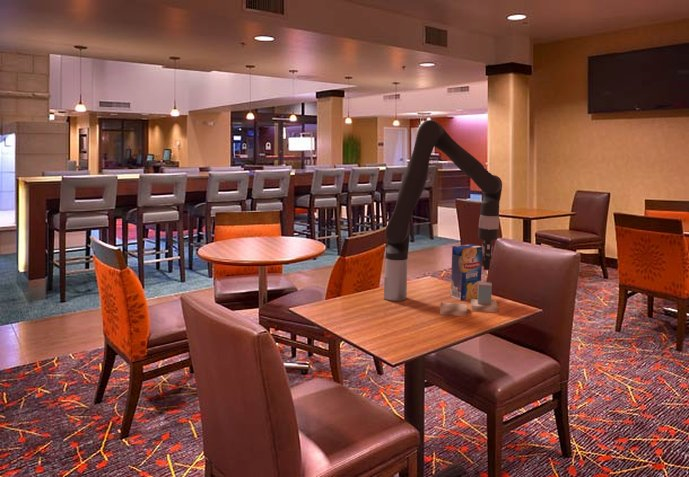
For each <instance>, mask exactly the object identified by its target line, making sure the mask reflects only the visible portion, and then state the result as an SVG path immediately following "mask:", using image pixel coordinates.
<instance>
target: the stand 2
mask: <svg viewBox="0 0 689 477" xmlns="http://www.w3.org/2000/svg"><path fill="white" fill-rule="evenodd" d="M477 299H478V298H473V299H470V310H471V312H489V313H499V306H498V302H497V300H495V299H494V300H493V299H491V305H483V304H478V301H477Z"/></svg>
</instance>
